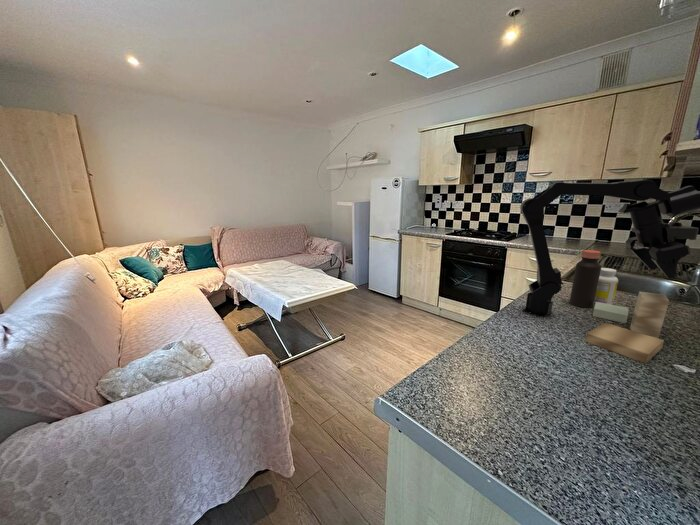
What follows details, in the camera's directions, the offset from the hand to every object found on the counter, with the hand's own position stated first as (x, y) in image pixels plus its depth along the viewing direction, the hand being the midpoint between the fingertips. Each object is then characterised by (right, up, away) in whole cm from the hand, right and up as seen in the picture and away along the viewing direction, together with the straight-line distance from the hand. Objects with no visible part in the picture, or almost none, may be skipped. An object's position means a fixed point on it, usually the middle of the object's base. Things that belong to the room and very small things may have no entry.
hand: (661, 273), depth 79 cm
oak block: (-16, -20, -5) cm, 26 cm away
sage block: (-3, -15, +13) cm, 20 cm away
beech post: (-5, -18, 0) cm, 18 cm away
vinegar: (-5, -12, +22) cm, 25 cm away
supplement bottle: (+3, -12, +23) cm, 26 cm away
